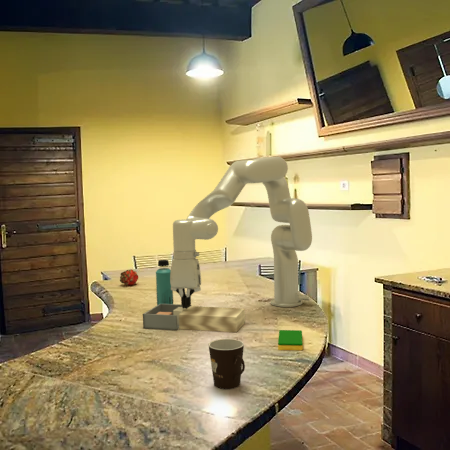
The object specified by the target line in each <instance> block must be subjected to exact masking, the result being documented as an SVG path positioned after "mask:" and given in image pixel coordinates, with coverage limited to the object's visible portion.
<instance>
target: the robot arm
mask: <svg viewBox="0 0 450 450" xmlns="http://www.w3.org/2000/svg"><path fill="white" fill-rule="evenodd" d="M288 169H289V168H288V162H287V161H286V160H285V159H284V158H283V157H281V156H269V157H268V156H267V157H266V156H265V157H257V158H254V159H242V160H236V161H234V162H232V164H231V165H230V166H229V167H228V169H227V170H226V172H225V173H224V175H223V176H222V178H221V179H220V181H219V182H218V183H217V185H216V187H214V190H212V191H211V192H210V193H209V194H207V195H206V196H204V198H203V199H202V200H200V201H199V202H198V203H197V204H196V205H195V207H193V209H192V210H191V211H190V213H189V215H188V216H187V218H186V219H177V220H174V221H173V223H172V240H173V243H172V245H173V259H171V264H170V265H171V266H170V270H171V274H170V283H171V290H172V291H173V292H176V293H177V294H178V295H179V298H180V301H181V303H180V305H182V306H183V308H186V309H187V308H189V307H190V305H191V306H192V296H193V295H194V293H197V292H200V291H201V290H202V288H201V285H202V274H201V266H200V262H199V259H198V258H197V257H199V256H200V252H198V251H197V250H196V240H204V241H205V240H206V241H207V240H212V239H213V238H215V236H217V234H218V233H219V226H218V224H217V222H216V221H215V220H214V219H211V218H212V217H213V215H215V214H216V213H219V211H222V210H224V209H226V208H228V207H230V206H232V205H233V204H234V203H235V201H236V200H237V199H238V197H239V195H240V194H241V193H242V190H243V189H244V188H245V186H246V185H247V184H260V183H262V184H263V185H264V188H265V189H266V193H267V198H268V203H269V210H270V211H269V212H270V215H271V219H272V220H273V221H275V222H277V223H284V224H280V225H277V226H275V227H274V228H273V229H272V231H271V234H270V241H271V245H272V247H271V248H272V250H273V251H272V252H273V279H274V281H273V284H274V285H273V287H274V288H273V291H274V296H273V297H274V298H272V299H271V300H270V305H272V306H275V307H281V308H292V307H293V308H294V307H299V306H302V304H303V301H310V295H307V294H301V291H299V260H298V259H299V258H298V254H297V252H296V251H298V252H304V251H307V250H308V249H309V248H310V247H311V245H312V242H313V232H312V226H311V218H310V211H309V208H308V206H307V204H306V203H305V202H304V201H303V200H302V199H299V198H292V197H291V192H290V187H289V184H288V181H287V179H286V178H285V176H286V175H287V173H288ZM285 223H286V224H285Z"/></svg>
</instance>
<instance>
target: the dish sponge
mask: <svg viewBox="0 0 450 450" xmlns="http://www.w3.org/2000/svg"><path fill="white" fill-rule="evenodd" d="M278 332H279V333H278V340H277V350H279V351H303V349H304V348H303V347H304V346H303V344H304V343H303V331H302V330H298V329H296V330H295V329H292V330H291V329H279V331H278Z"/></svg>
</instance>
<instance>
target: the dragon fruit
mask: <svg viewBox="0 0 450 450" xmlns="http://www.w3.org/2000/svg"><path fill="white" fill-rule="evenodd" d="M138 280H139V275H138V273H137V271H135V270H134V269H131V268H130V269H127V270H124V271H122V272H121V273H120V276H119V282H120V283H121V284H124V285H125V286H126V287H129V286H135V285H136V283H137V282H138Z"/></svg>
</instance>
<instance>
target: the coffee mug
mask: <svg viewBox="0 0 450 450" xmlns="http://www.w3.org/2000/svg"><path fill="white" fill-rule="evenodd" d="M244 346H245V343H244V342H243V340H239V339H234V338H221V339H216V340H213V341H210V342H209V343H208V350H209V357H210V358H209V359H210V366H211V372H212V378H213V385H214V387H215V388H217V389H221V390H233V389H237V388H238V387H240V385H241V379H242V374H243V373H244V372H245V370H246V365H245V360H244V359H243V358H244V357H243V356H244Z"/></svg>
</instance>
